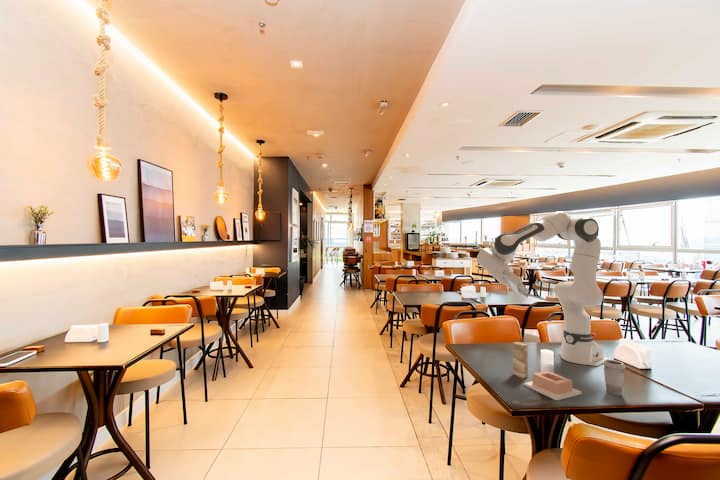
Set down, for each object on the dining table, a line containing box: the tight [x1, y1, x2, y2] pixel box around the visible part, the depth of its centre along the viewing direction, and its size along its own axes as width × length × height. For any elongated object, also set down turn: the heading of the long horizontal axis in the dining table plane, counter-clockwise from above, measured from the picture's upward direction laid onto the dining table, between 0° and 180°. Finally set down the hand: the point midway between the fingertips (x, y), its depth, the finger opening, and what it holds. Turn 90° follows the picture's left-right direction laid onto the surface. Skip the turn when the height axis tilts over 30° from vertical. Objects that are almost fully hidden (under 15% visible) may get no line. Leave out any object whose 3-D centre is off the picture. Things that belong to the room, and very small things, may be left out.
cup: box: [601, 359, 626, 397], centre depth 125 cm, size 7×7×12 cm
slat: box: [512, 341, 529, 379], centre depth 142 cm, size 3×5×14 cm, turn 23°
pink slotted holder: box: [523, 370, 583, 401], centre depth 128 cm, size 14×14×5 cm
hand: (528, 294), depth 149 cm, fingers open, 8 cm apart
